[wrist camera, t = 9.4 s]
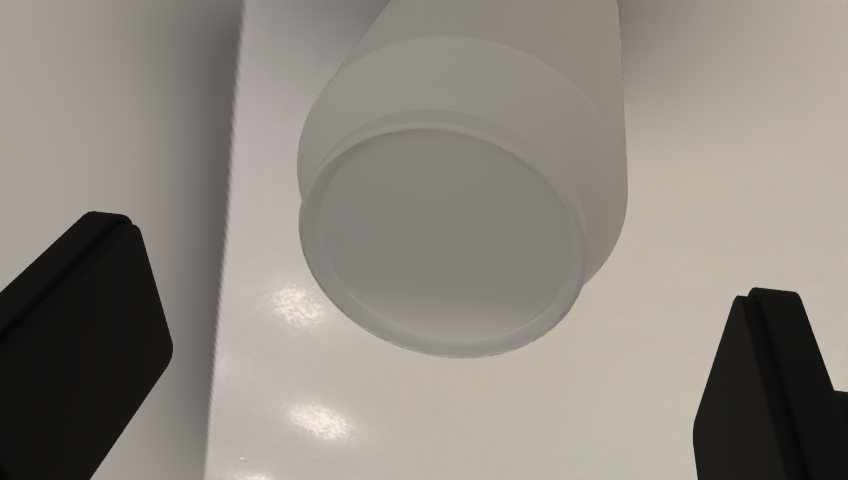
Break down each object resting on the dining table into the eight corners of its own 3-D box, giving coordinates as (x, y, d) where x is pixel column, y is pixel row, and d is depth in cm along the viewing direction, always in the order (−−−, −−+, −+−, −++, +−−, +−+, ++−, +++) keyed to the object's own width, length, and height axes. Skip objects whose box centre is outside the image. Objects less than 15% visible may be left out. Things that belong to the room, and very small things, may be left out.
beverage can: (476, 139, 24) (392, 415, 15) (372, -24, 21) (189, 182, 12) (653, 54, 21) (692, 329, 12) (557, -146, 19) (508, 0, 9)
